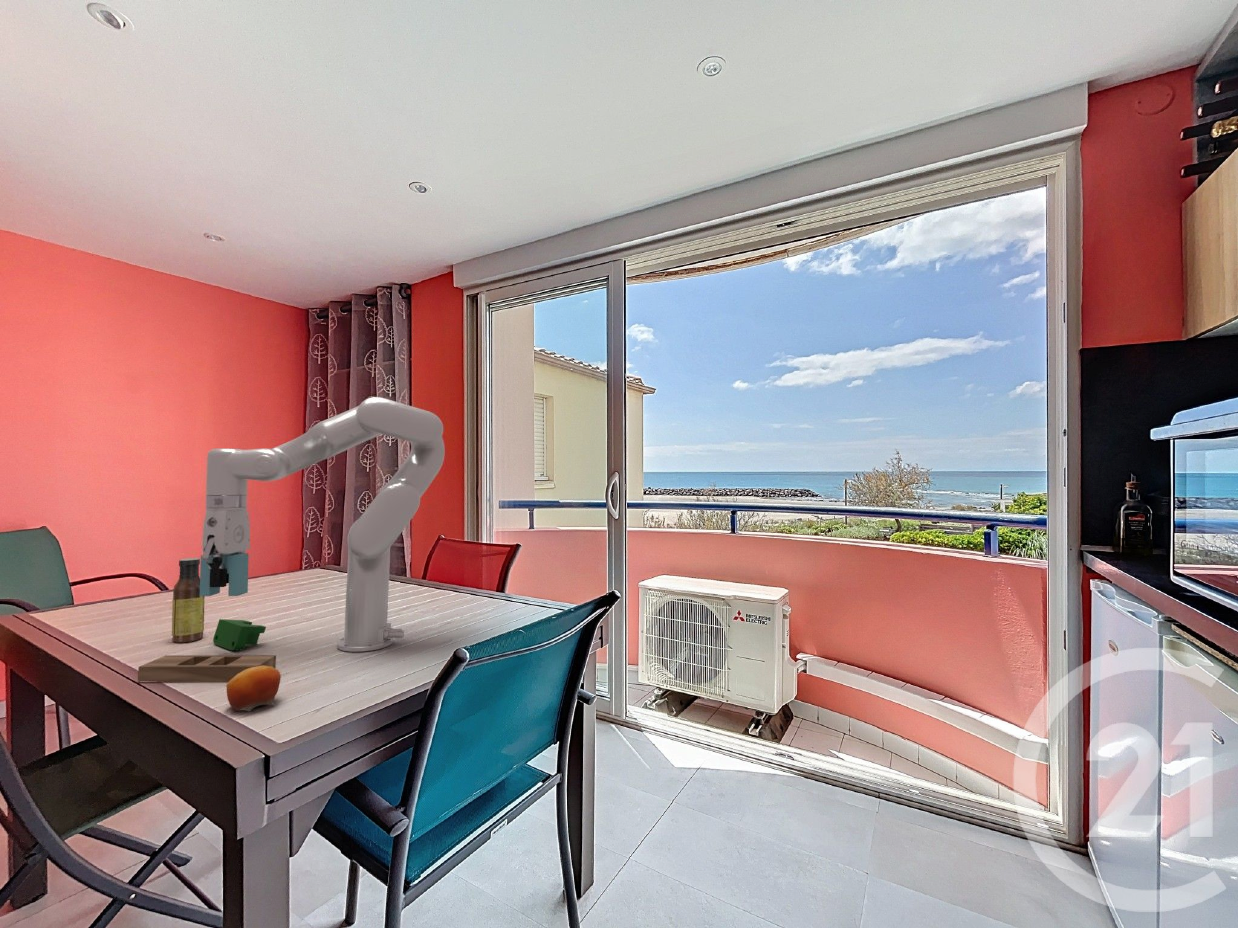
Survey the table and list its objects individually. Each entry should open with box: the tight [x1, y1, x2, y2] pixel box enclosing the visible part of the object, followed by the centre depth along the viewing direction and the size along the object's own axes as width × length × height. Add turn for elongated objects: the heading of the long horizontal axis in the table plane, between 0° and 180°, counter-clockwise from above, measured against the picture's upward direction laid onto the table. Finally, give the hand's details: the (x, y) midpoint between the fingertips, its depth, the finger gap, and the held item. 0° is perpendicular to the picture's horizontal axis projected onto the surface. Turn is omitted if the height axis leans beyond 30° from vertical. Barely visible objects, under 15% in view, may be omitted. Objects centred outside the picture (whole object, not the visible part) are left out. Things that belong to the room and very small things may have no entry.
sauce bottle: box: [171, 557, 206, 644], centre depth 133 cm, size 7×6×20 cm
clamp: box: [212, 618, 267, 651], centre depth 130 cm, size 12×6×9 cm, turn 52°
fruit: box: [225, 666, 282, 713], centre depth 96 cm, size 8×8×8 cm
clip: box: [199, 552, 250, 597], centre depth 121 cm, size 4×8×9 cm, turn 95°
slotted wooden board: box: [137, 654, 277, 683], centre depth 110 cm, size 7×22×3 cm, turn 95°
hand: (224, 584), depth 121 cm, fingers closed on clip, 3 cm apart
